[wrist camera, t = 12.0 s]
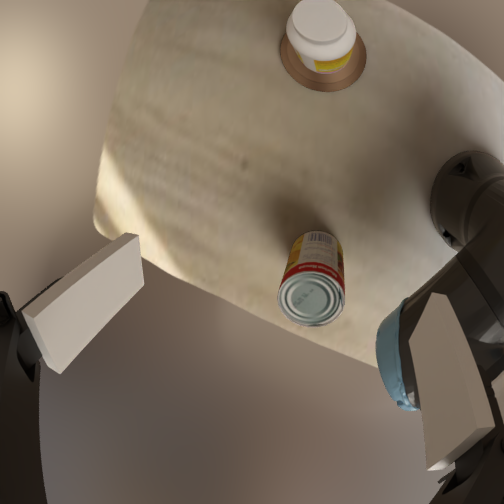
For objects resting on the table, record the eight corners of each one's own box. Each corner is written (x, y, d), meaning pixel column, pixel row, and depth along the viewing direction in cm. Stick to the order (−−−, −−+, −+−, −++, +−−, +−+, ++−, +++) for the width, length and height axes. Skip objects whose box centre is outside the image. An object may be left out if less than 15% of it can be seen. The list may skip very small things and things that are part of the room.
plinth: (364, 22, 27) (366, 18, 25) (364, 96, 32) (366, 95, 30) (282, 16, 29) (279, 12, 27) (280, 89, 34) (278, 87, 32)
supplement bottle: (360, 47, 27) (374, 14, 16) (331, 84, 30) (333, 67, 19) (314, 19, 27) (306, -24, 16) (286, 56, 30) (264, 27, 19)
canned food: (291, 276, 46) (278, 325, 35) (290, 229, 43) (276, 270, 32) (341, 278, 44) (341, 329, 33) (344, 231, 40) (348, 273, 30)
